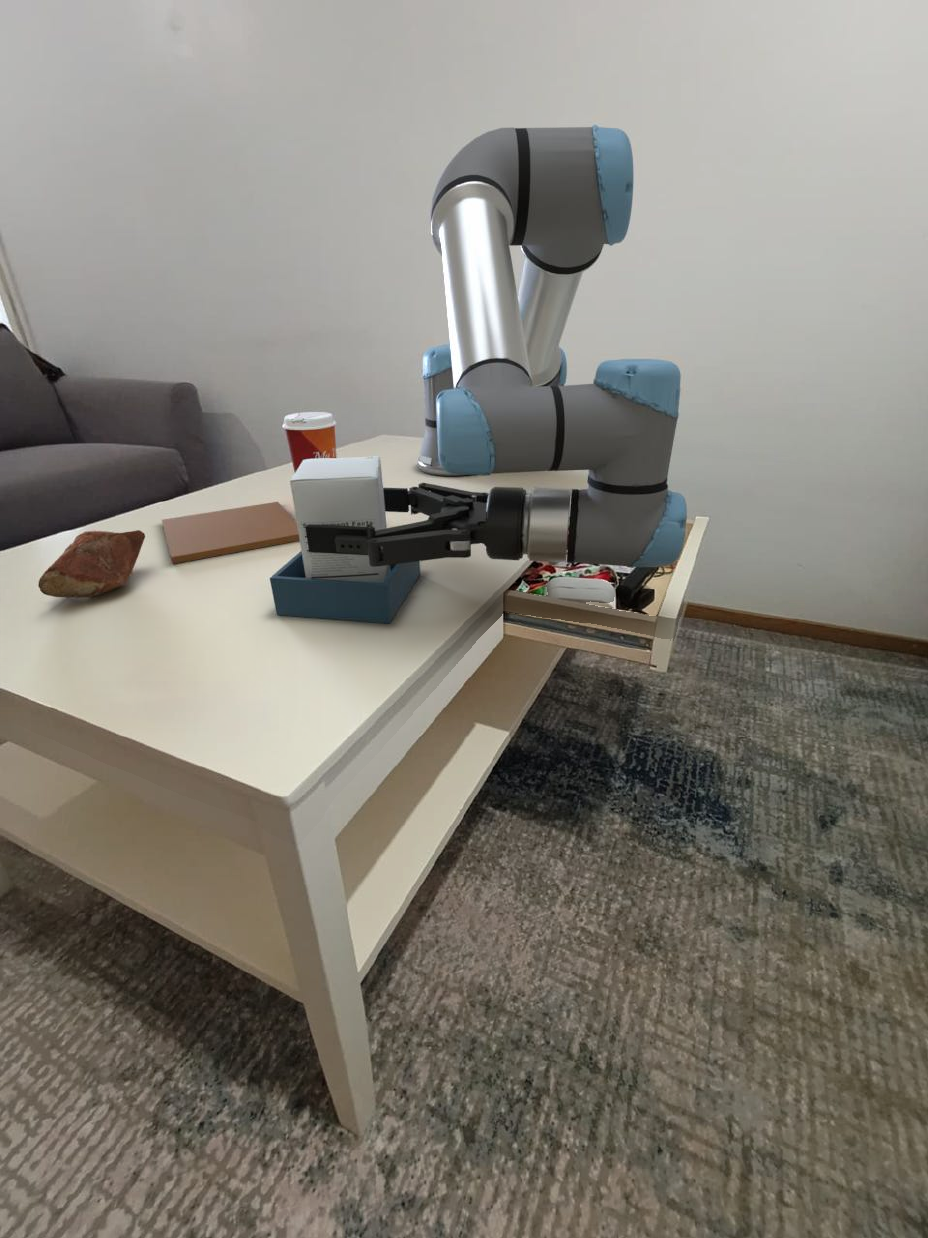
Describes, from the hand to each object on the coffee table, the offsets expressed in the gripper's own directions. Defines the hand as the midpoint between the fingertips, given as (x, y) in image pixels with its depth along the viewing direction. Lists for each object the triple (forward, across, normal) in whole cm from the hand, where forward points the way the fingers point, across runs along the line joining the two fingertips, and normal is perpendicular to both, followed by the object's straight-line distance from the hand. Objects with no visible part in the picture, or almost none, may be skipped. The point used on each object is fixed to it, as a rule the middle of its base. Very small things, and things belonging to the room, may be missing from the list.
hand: (333, 516), depth 65 cm
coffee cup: (+15, +30, -10) cm, 35 cm away
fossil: (+30, -3, -10) cm, 31 cm away
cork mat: (+25, +18, -9) cm, 32 cm away
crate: (-1, 0, -9) cm, 9 cm away
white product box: (-1, 0, -10) cm, 10 cm away
